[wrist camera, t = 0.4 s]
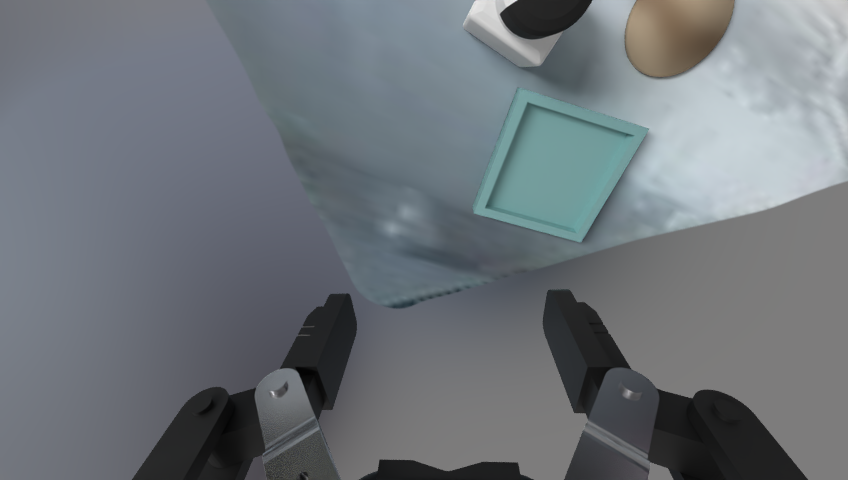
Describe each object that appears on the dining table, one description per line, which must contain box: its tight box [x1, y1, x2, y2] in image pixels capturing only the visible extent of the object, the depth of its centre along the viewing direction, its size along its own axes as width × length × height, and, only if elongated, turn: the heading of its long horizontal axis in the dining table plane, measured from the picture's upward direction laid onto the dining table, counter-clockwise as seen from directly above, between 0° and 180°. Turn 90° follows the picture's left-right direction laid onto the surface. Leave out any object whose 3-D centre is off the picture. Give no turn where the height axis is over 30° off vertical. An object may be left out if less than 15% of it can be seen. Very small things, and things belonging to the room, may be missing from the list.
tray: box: [473, 88, 649, 242], centre depth 35 cm, size 14×14×2 cm
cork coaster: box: [625, 0, 734, 77], centre depth 29 cm, size 9×9×1 cm
